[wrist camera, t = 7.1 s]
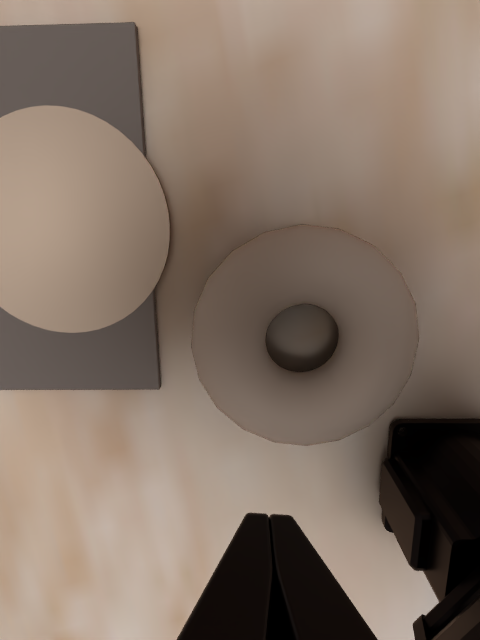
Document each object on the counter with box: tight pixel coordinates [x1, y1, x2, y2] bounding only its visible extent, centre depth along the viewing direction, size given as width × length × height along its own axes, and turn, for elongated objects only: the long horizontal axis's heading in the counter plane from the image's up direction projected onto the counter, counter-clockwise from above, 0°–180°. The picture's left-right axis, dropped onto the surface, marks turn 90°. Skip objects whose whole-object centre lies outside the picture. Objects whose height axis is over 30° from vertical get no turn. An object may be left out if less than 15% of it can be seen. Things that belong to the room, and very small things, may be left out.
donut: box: [191, 225, 419, 446], centre depth 17 cm, size 10×4×10 cm
